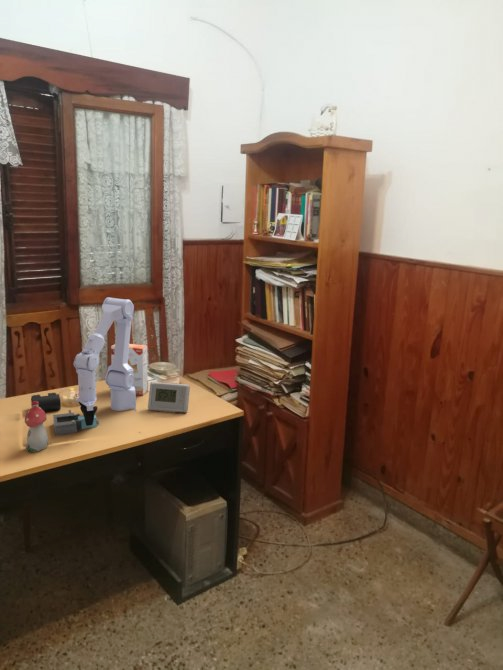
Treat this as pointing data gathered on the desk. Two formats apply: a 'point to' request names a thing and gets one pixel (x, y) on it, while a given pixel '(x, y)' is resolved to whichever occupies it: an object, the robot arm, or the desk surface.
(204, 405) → the desk surface
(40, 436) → the decorative ornament
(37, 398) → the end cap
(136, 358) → the cracker box
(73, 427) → the port block
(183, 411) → the digital clock
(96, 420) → the teal rectangular block
